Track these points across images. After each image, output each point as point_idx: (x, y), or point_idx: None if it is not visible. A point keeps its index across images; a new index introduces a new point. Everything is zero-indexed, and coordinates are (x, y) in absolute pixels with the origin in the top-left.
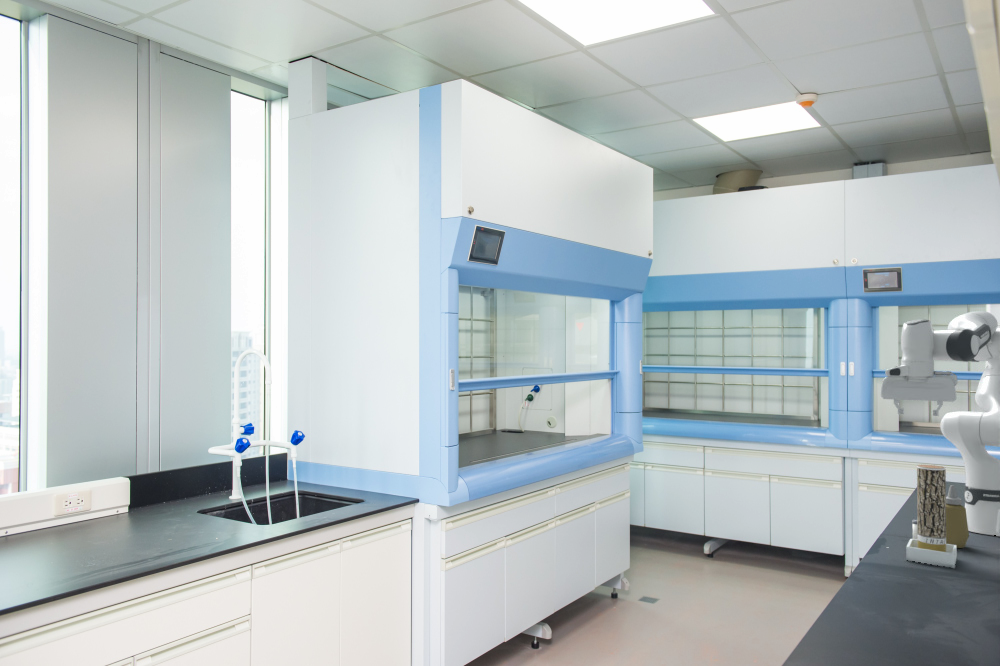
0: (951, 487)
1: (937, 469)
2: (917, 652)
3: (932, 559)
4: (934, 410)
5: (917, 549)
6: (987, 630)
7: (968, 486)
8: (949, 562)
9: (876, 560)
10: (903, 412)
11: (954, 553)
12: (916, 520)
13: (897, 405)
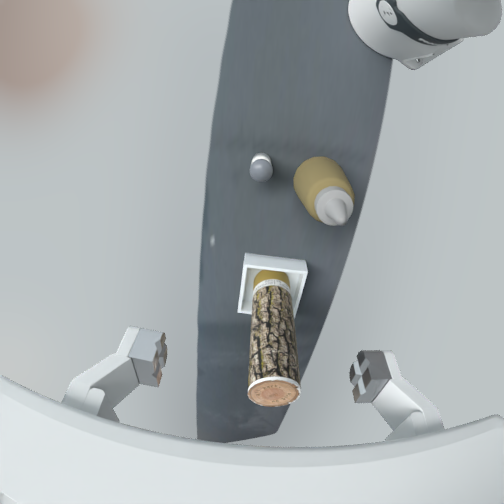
0: (338, 224)
1: (282, 403)
2: (243, 437)
3: None
4: (362, 401)
5: (251, 313)
6: (283, 415)
7: (398, 4)
8: None
9: (205, 313)
10: (162, 344)
11: (295, 315)
12: (258, 169)
13: (117, 400)
